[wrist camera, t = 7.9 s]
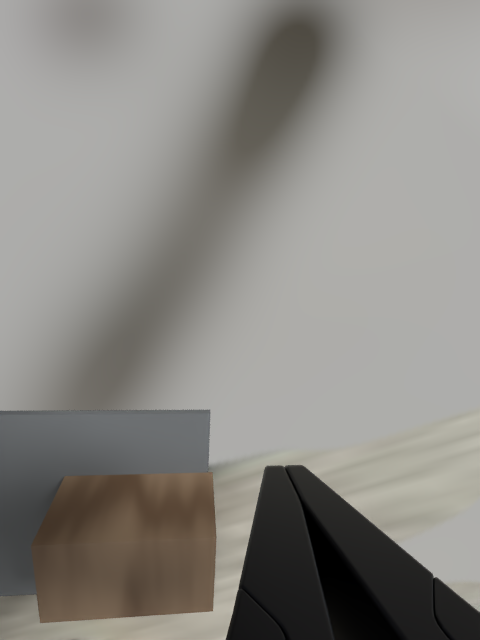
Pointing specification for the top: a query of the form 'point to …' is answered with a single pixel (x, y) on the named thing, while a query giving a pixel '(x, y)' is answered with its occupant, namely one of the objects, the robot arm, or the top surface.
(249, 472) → the top surface
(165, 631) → the top surface
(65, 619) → the walnut block
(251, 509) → the top surface
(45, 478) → the gray flat panel
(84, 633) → the top surface
